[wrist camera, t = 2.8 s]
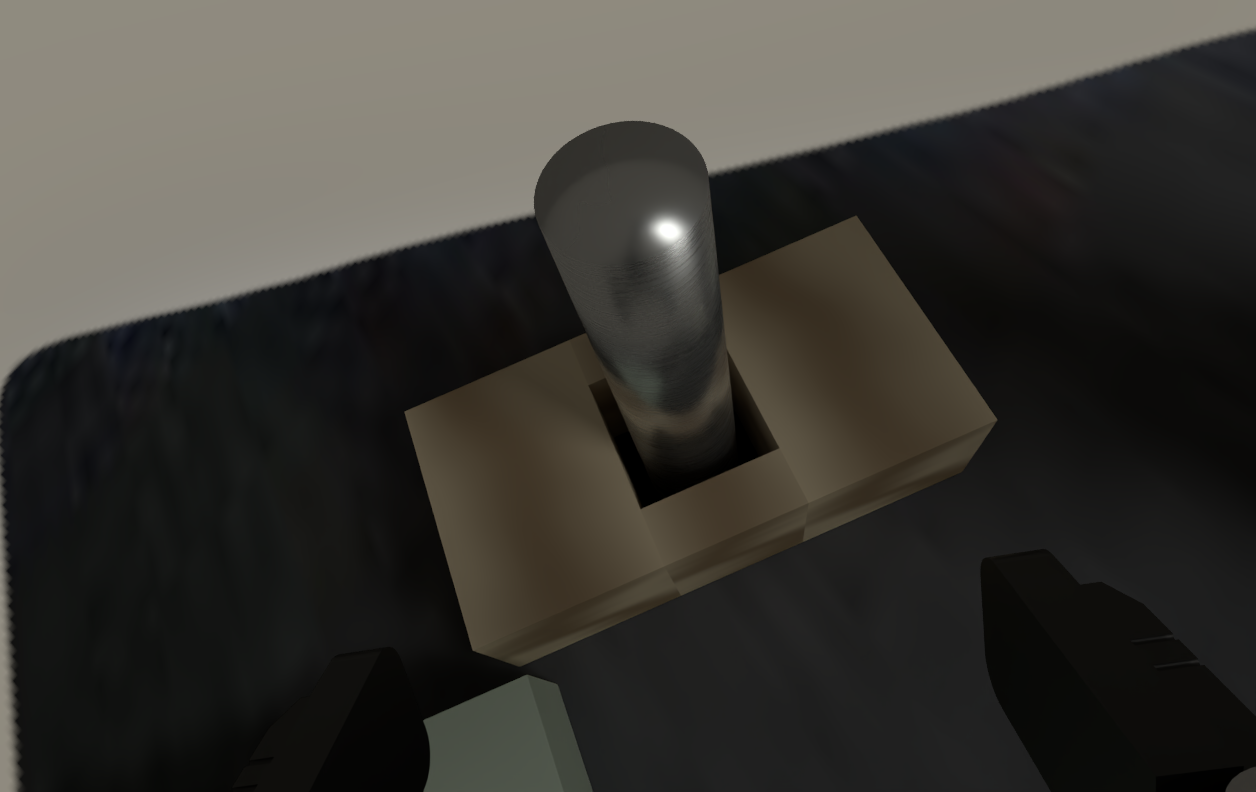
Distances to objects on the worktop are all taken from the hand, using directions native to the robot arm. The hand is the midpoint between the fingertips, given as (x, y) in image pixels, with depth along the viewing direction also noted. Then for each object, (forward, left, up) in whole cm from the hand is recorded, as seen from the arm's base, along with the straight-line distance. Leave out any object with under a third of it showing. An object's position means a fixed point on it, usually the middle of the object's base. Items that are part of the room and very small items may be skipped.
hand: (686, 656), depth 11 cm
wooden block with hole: (-2, -8, -15) cm, 17 cm away
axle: (-2, -8, -15) cm, 17 cm away
